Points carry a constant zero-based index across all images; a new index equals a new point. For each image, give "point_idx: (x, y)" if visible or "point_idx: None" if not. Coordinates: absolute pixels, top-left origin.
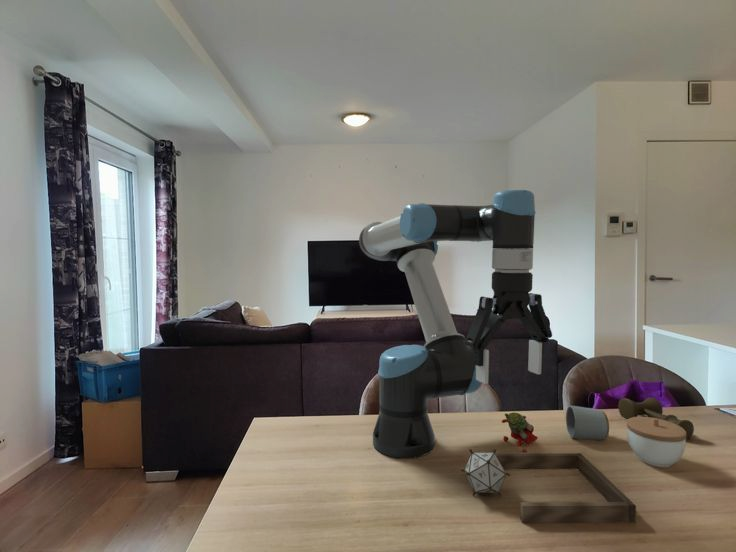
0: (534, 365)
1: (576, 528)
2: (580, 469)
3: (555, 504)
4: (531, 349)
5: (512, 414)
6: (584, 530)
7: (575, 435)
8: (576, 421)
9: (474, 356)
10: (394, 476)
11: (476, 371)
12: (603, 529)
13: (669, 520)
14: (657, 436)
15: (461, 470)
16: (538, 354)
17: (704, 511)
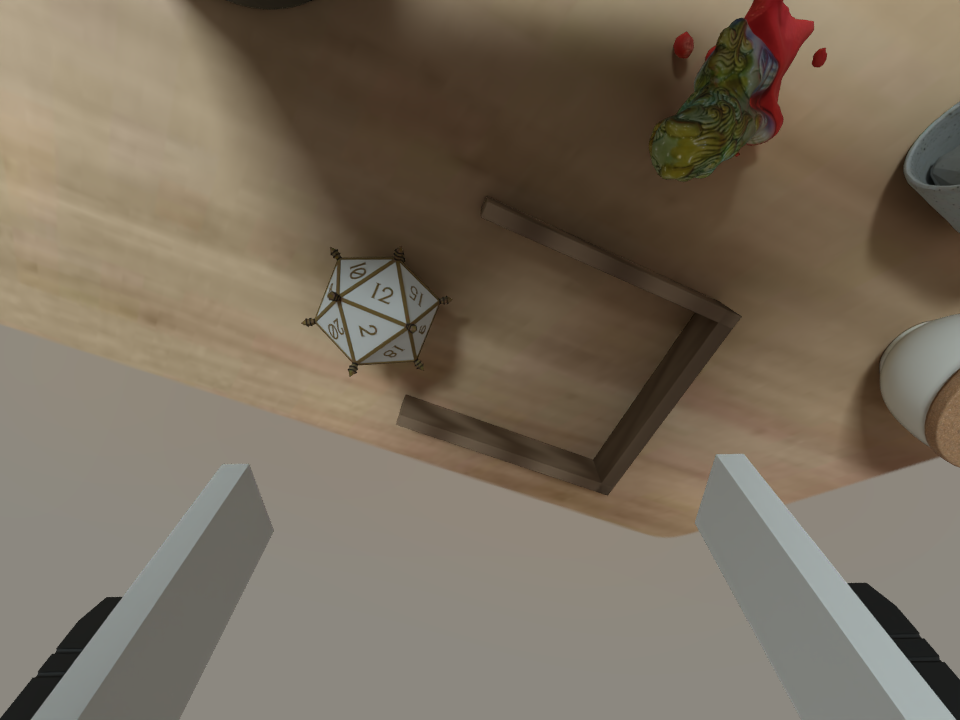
0: (731, 542)
1: None
2: (692, 324)
3: (465, 443)
4: (826, 656)
5: (684, 140)
6: None
7: (906, 178)
8: (957, 192)
9: (33, 691)
10: (150, 106)
11: (186, 518)
12: None
13: (658, 486)
14: (935, 445)
15: (331, 254)
16: (778, 672)
17: None
